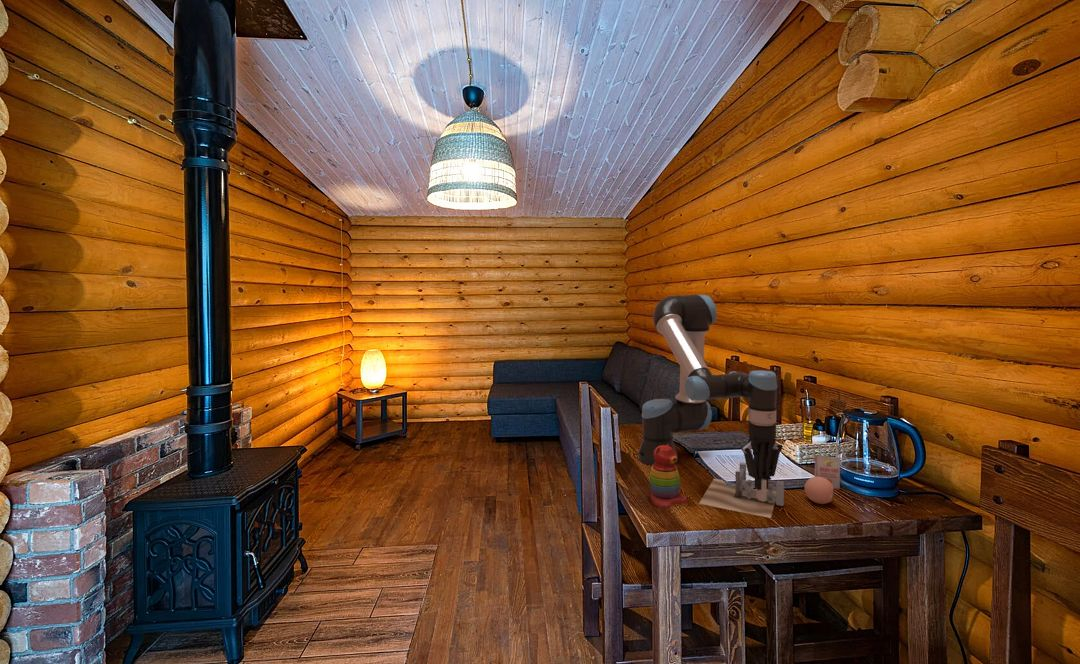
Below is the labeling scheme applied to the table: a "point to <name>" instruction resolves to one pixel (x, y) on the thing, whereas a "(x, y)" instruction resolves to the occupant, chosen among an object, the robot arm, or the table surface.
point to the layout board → (735, 500)
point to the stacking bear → (665, 478)
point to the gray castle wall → (778, 488)
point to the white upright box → (828, 469)
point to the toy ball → (819, 490)
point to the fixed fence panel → (740, 478)
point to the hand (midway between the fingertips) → (761, 499)
